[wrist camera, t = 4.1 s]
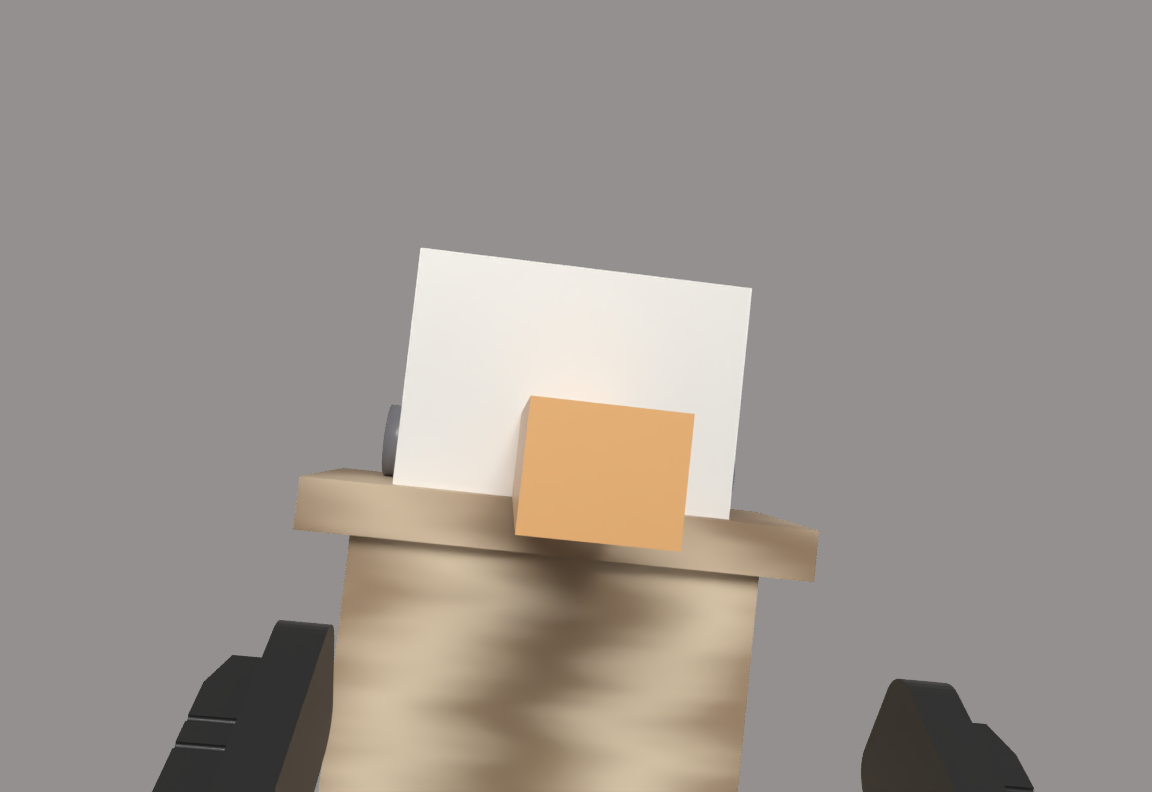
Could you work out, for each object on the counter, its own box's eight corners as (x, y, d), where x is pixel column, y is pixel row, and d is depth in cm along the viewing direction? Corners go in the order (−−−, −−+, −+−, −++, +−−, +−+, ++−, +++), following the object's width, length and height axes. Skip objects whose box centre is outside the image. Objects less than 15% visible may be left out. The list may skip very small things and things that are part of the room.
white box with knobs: (714, 508, 33) (733, 315, 34) (911, 575, 17) (944, 201, 17) (389, 474, 32) (412, 276, 33) (270, 509, 16) (319, 118, 17)
